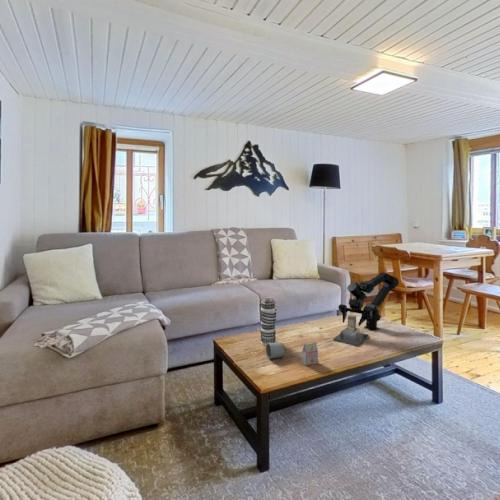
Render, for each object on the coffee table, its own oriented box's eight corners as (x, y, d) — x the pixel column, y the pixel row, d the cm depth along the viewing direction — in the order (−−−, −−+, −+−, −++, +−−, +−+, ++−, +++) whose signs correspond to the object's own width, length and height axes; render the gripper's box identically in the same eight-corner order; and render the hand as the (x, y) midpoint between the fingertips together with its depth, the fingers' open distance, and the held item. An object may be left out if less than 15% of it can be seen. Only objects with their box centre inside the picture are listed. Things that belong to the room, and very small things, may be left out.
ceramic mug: (286, 359, 165) (286, 344, 164) (271, 361, 162) (271, 346, 161) (277, 350, 175) (277, 336, 174) (263, 353, 172) (263, 338, 171)
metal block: (349, 334, 193) (350, 314, 191) (355, 336, 191) (356, 315, 189) (347, 336, 190) (347, 315, 188) (353, 338, 188) (354, 317, 186)
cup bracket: (345, 330, 202) (345, 322, 201) (368, 336, 193) (369, 327, 192) (333, 340, 188) (333, 331, 187) (357, 346, 179) (358, 336, 178)
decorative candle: (262, 338, 191) (262, 296, 188) (278, 340, 188) (278, 297, 185) (257, 344, 182) (257, 300, 179) (273, 346, 179) (274, 302, 176)
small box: (301, 362, 161) (302, 343, 160) (313, 360, 163) (313, 340, 162) (305, 366, 158) (306, 346, 156) (317, 363, 160) (318, 343, 159)
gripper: (339, 291, 196) (331, 313, 189) (371, 296, 185) (364, 320, 177) (344, 300, 203) (336, 323, 196) (375, 306, 192) (368, 330, 184)
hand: (350, 323), depth 188 cm, fingers open, 9 cm apart
